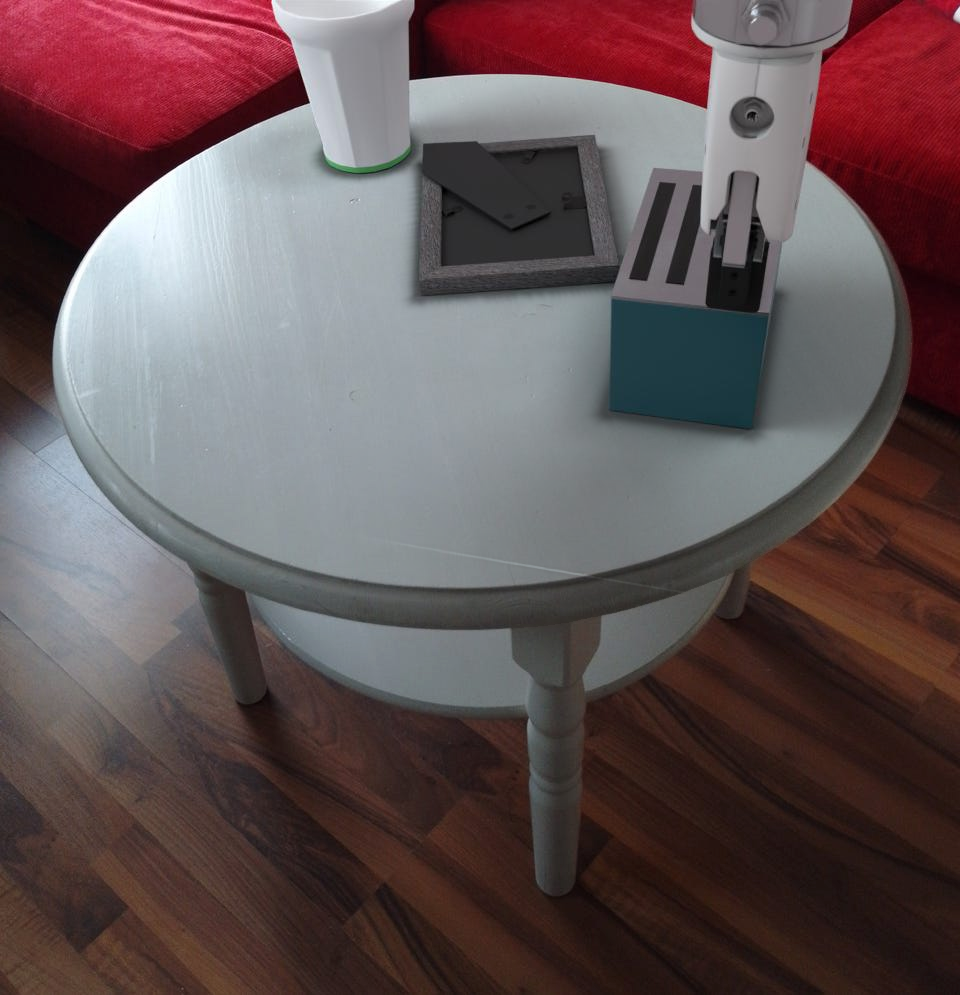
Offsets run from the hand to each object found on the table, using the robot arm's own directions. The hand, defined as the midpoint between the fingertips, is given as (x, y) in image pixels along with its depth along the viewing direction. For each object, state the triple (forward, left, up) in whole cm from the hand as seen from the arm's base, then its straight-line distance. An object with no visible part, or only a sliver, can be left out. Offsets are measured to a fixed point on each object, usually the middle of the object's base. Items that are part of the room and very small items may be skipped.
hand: (733, 302), depth 66 cm
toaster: (+3, -10, -12) cm, 16 cm away
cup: (+38, -34, -12) cm, 52 cm away
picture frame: (+21, -25, -12) cm, 35 cm away
